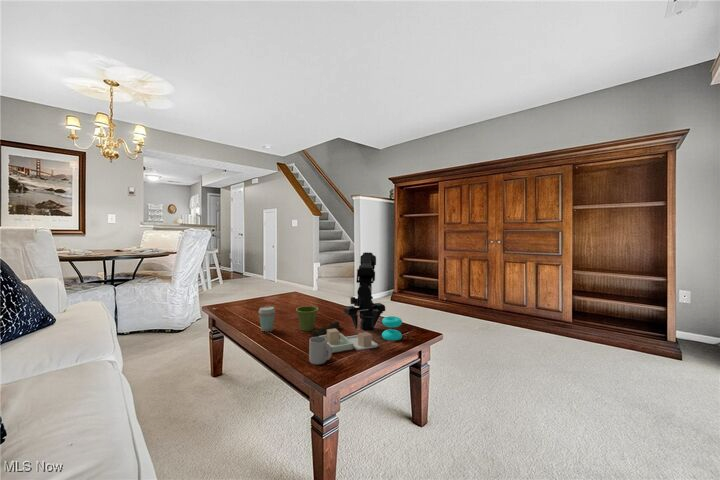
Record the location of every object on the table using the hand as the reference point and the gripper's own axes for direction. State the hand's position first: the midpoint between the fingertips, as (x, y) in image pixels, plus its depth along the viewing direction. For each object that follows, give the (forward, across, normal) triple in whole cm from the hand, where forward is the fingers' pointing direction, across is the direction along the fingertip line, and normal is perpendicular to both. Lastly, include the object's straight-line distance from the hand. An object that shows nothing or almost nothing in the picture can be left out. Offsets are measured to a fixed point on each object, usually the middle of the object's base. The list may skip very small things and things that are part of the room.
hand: (364, 327), depth 141 cm
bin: (+9, +12, -6) cm, 16 cm away
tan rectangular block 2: (+9, 0, 0) cm, 9 cm away
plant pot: (+10, +18, -34) cm, 40 cm away
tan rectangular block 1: (+9, +12, -10) cm, 18 cm away
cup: (+9, +24, +7) cm, 26 cm away
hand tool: (+10, +10, -25) cm, 28 cm away
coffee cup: (+9, +38, -41) cm, 57 cm away
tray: (+9, 0, -4) cm, 10 cm away
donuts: (+10, -18, -4) cm, 20 cm away
